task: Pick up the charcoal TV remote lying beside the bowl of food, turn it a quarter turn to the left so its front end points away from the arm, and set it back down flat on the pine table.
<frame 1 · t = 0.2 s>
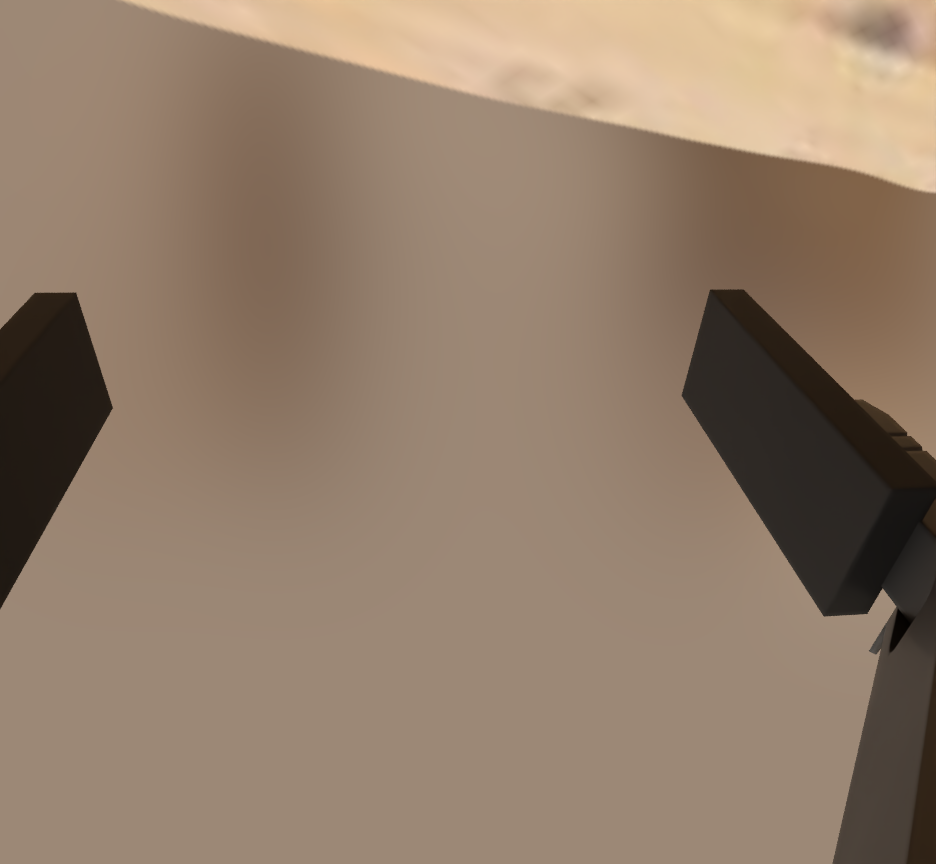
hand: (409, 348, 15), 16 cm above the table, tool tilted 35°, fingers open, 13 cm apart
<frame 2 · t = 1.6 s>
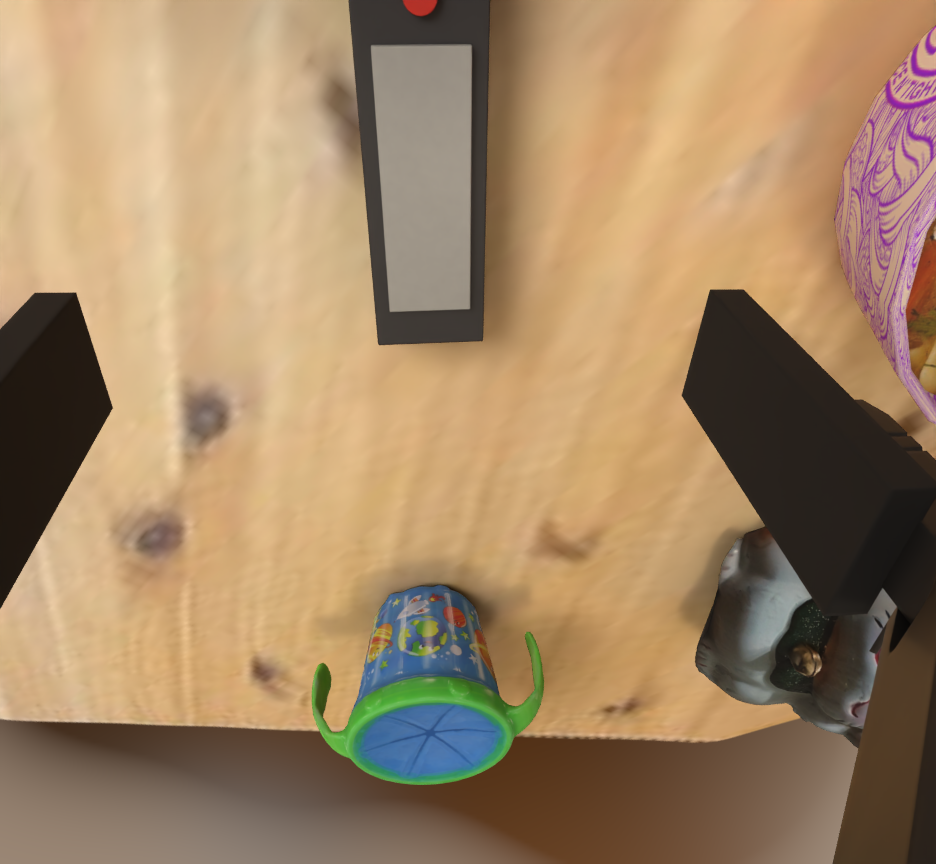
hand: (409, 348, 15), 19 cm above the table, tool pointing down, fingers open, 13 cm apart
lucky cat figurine: (782, 570, 52), on the table
snack cup: (425, 611, 51), on the table
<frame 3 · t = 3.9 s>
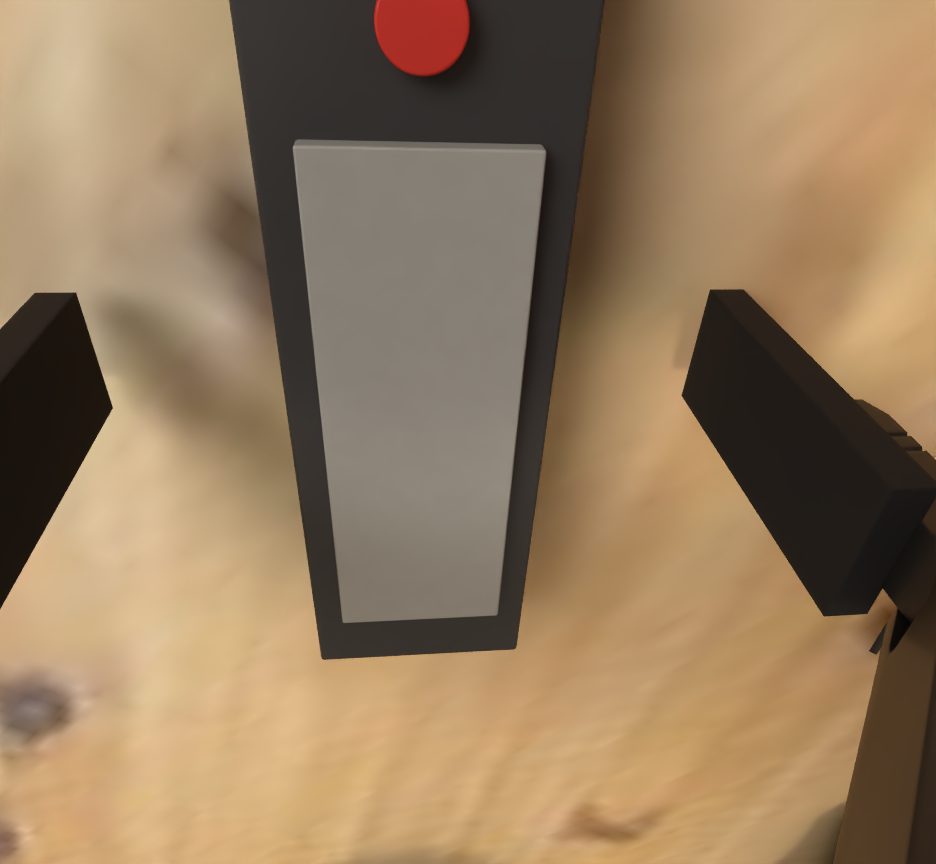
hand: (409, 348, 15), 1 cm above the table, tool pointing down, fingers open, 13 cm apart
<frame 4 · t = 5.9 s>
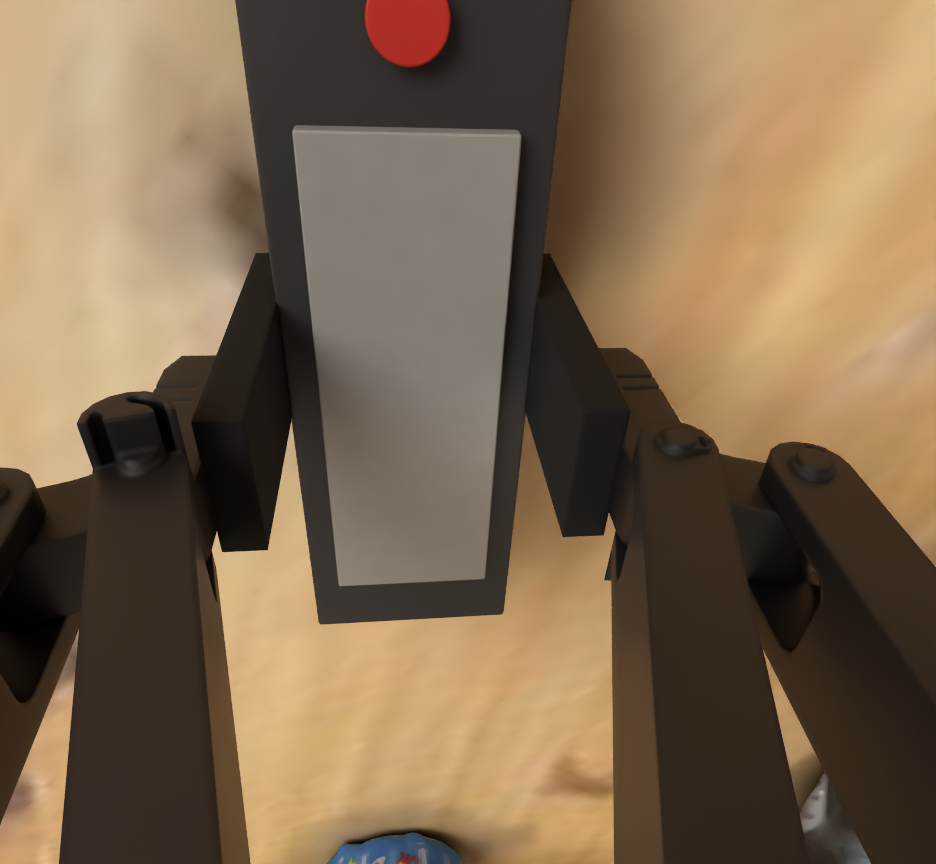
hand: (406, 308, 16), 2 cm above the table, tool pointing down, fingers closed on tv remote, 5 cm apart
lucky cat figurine: (868, 792, 39), on the table
snack cup: (391, 855, 37), on the table
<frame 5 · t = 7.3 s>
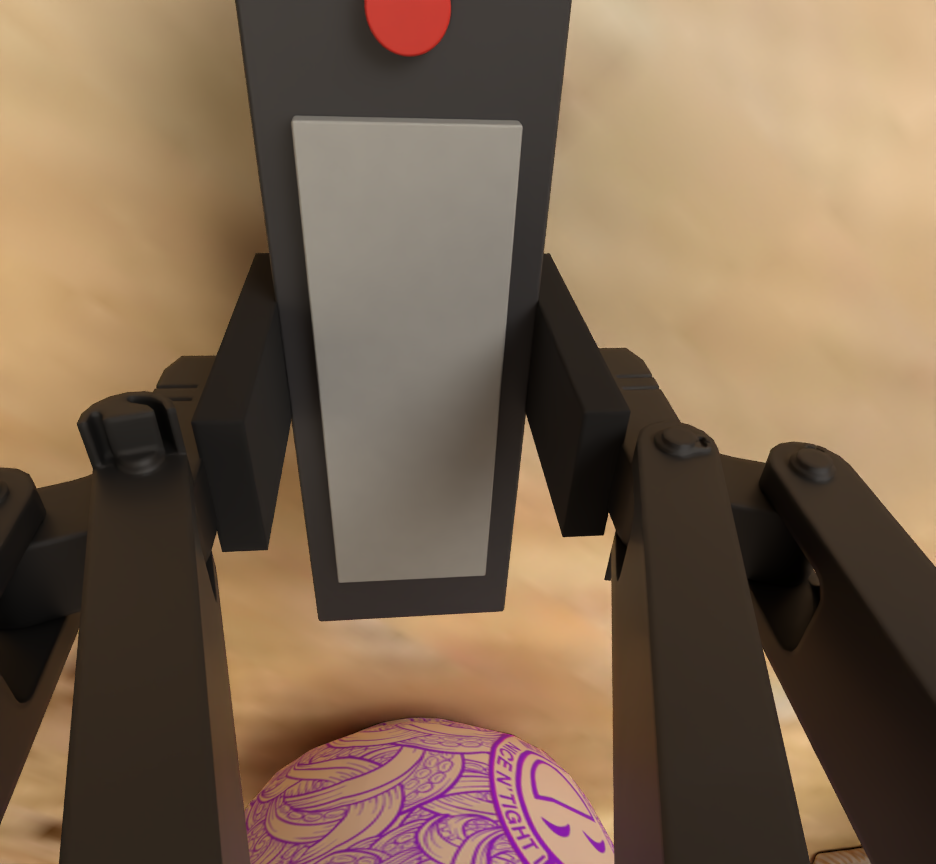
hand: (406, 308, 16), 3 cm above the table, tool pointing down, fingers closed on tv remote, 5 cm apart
bowl of food: (411, 759, 34), on the table
when the fingers open (0 cm above the table, at t = 8.7 s): tv remote stays where it is, on the table.
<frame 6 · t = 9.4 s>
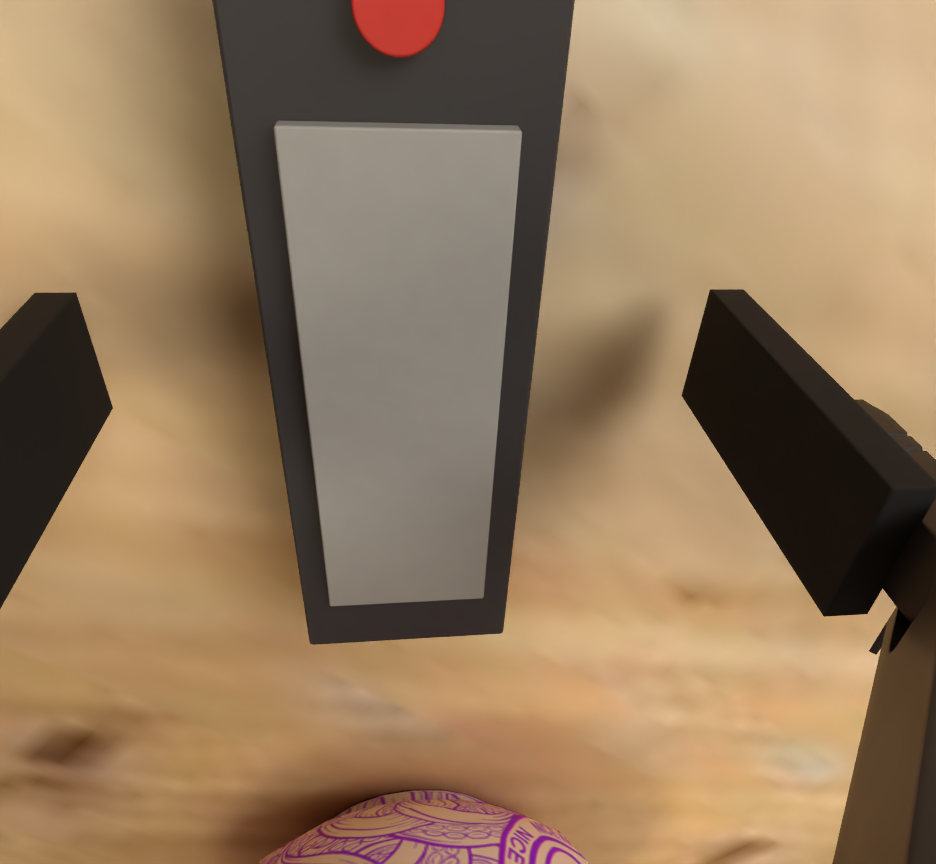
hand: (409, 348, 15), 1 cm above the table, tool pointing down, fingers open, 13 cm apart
bowl of food: (412, 829, 31), on the table
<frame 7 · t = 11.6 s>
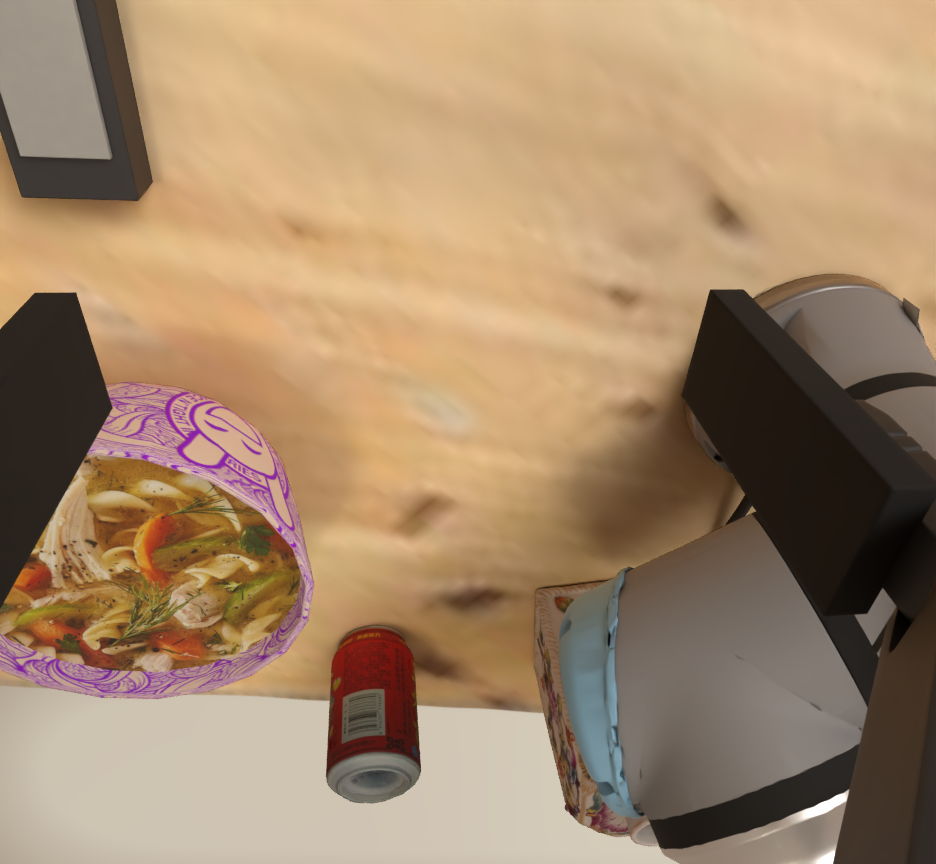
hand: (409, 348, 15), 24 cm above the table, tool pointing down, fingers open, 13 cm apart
decorative jar: (595, 618, 62), on the table
bowl of food: (170, 453, 45), on the table
soda can: (373, 643, 60), on the table
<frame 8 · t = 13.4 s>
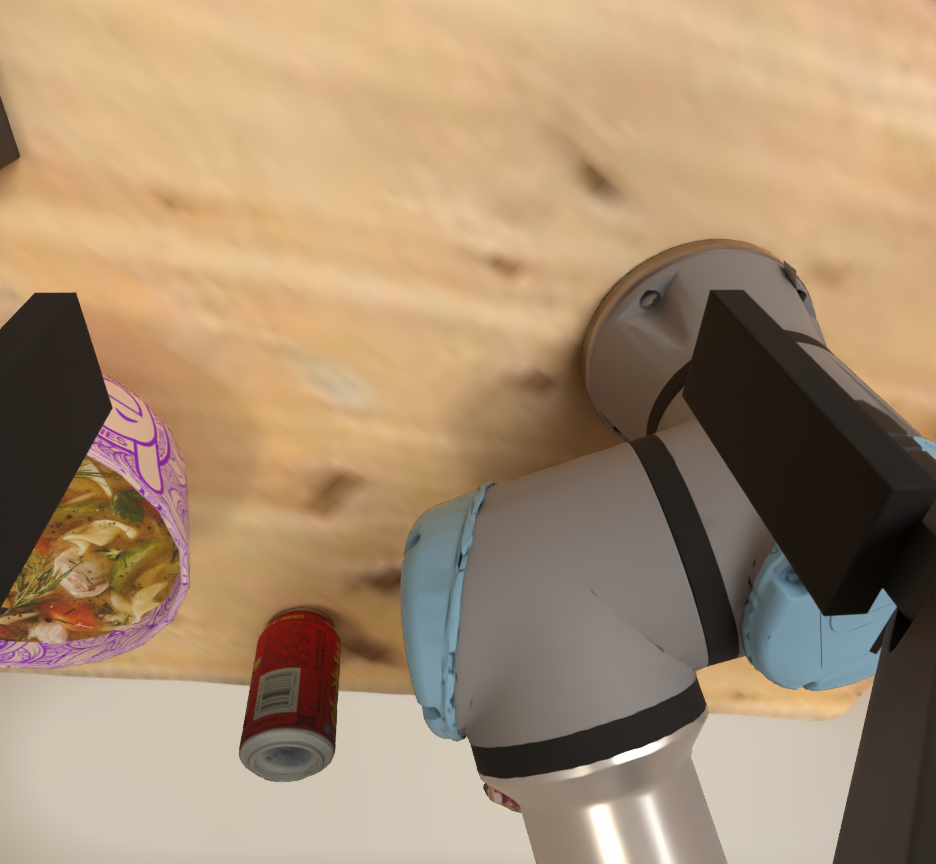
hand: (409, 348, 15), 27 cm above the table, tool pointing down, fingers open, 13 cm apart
decorative jar: (525, 600, 62), on the table
bowl of food: (73, 430, 46), on the table
soda can: (301, 627, 61), on the table
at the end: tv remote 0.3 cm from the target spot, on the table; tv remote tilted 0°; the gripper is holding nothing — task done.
